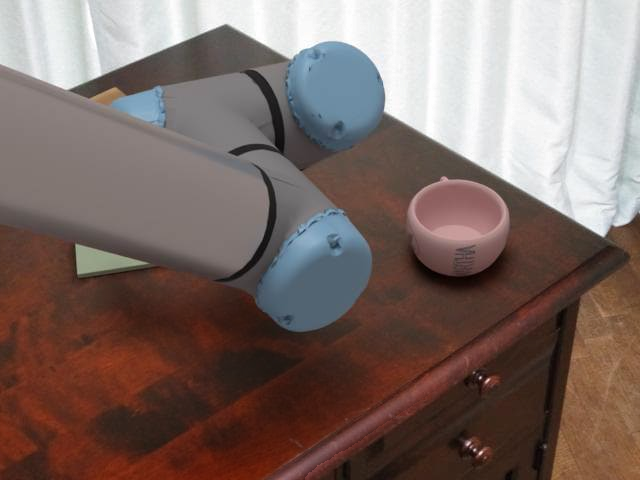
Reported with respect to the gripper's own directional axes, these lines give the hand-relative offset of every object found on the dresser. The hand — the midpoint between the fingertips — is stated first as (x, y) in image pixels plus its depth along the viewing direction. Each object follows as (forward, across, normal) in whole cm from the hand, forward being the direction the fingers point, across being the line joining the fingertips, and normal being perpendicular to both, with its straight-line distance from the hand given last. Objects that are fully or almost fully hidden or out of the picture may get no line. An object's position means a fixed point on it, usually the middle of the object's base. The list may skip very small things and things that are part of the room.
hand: (171, 195), depth 112 cm
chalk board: (+11, 0, +2) cm, 11 cm away
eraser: (+10, 0, +2) cm, 11 cm away
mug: (-9, +20, -18) cm, 28 cm away
